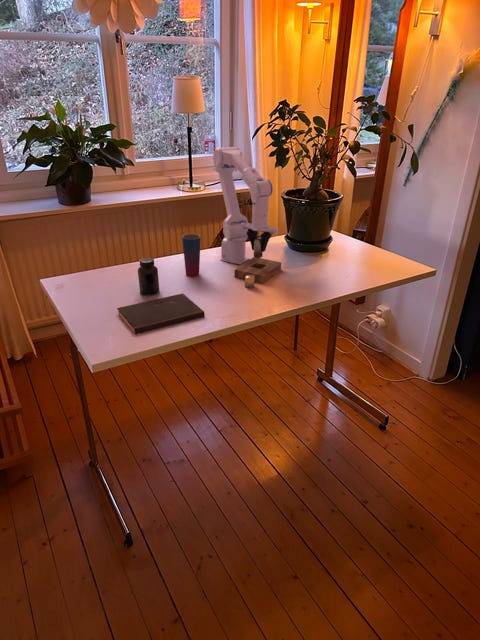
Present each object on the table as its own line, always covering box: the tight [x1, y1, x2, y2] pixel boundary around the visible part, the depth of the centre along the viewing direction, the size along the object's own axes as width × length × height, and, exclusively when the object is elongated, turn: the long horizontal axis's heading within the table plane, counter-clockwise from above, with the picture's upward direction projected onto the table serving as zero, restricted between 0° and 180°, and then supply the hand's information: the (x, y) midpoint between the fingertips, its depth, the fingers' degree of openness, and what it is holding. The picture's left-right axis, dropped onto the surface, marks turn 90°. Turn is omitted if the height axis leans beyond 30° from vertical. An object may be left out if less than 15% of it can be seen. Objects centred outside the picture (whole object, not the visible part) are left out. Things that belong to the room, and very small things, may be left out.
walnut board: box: [234, 256, 282, 284], centre depth 180 cm, size 12×16×3 cm
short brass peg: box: [244, 275, 255, 290], centre depth 169 cm, size 3×3×4 cm
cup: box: [181, 233, 201, 278], centre depth 175 cm, size 7×7×15 cm
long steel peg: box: [253, 236, 264, 258], centre depth 175 cm, size 3×3×7 cm
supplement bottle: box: [137, 257, 160, 296], centre depth 161 cm, size 7×7×12 cm
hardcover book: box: [116, 293, 206, 335], centre depth 149 cm, size 16×23×2 cm
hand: (258, 250), depth 176 cm, fingers closed on long steel peg, 3 cm apart
